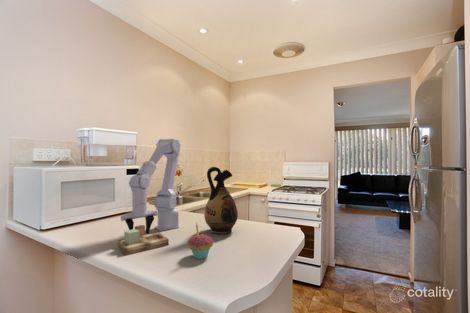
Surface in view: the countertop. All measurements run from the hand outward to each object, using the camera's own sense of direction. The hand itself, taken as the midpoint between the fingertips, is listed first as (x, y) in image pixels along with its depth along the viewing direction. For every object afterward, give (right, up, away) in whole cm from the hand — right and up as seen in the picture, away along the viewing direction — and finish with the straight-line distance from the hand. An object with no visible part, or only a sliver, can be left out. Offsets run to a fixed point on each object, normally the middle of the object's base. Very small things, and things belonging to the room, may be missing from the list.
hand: (139, 234), depth 98 cm
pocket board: (+5, -1, -8) cm, 10 cm away
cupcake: (+29, -1, -19) cm, 34 cm away
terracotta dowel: (0, -2, 0) cm, 2 cm away
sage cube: (+1, 0, -10) cm, 10 cm away
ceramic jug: (+33, -1, +9) cm, 35 cm away
